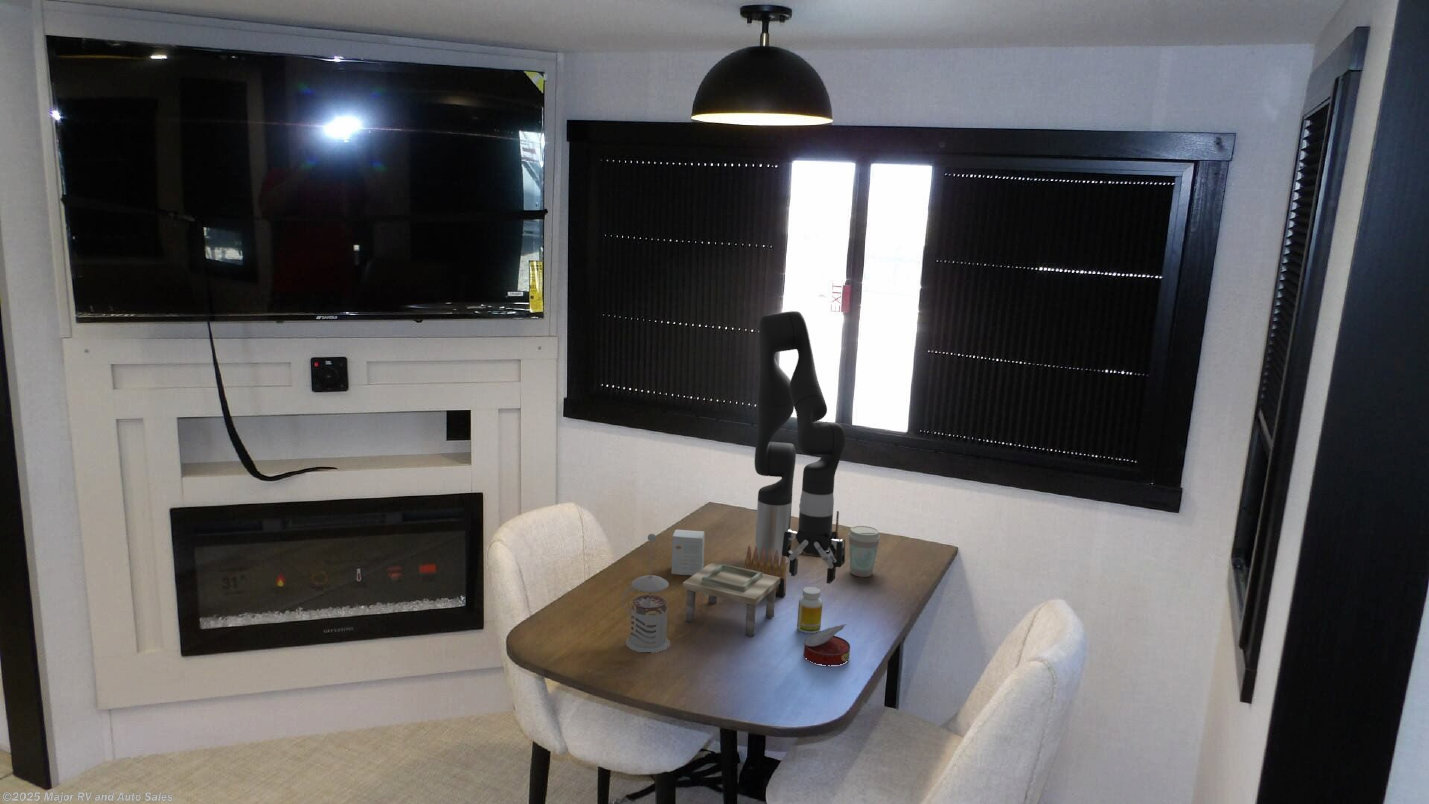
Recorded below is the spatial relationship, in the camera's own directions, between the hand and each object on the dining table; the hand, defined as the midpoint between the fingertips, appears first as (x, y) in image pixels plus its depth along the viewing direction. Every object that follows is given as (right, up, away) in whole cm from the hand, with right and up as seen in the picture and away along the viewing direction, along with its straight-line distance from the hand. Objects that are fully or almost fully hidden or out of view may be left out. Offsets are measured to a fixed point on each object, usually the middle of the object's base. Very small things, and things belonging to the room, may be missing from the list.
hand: (811, 578), depth 219 cm
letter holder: (+8, -1, +60) cm, 60 cm away
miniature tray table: (-18, -10, +6) cm, 22 cm away
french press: (-37, -13, -8) cm, 40 cm away
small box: (-29, -5, +34) cm, 45 cm away
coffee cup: (+17, -6, +39) cm, 43 cm away
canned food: (+2, -15, -10) cm, 19 cm away
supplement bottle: (0, -12, +3) cm, 13 cm away
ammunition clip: (-10, -8, +22) cm, 25 cm away
